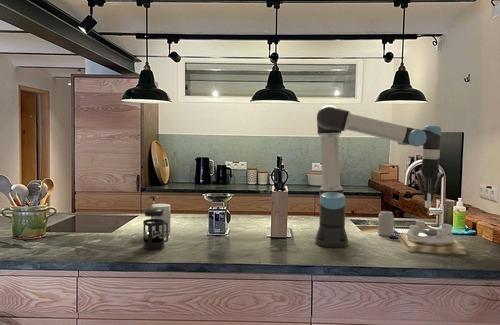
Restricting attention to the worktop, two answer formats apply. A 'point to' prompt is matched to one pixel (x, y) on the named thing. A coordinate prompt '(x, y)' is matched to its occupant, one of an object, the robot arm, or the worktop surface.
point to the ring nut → (431, 235)
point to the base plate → (431, 247)
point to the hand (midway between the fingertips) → (427, 207)
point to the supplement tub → (163, 216)
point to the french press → (155, 242)
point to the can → (385, 223)
